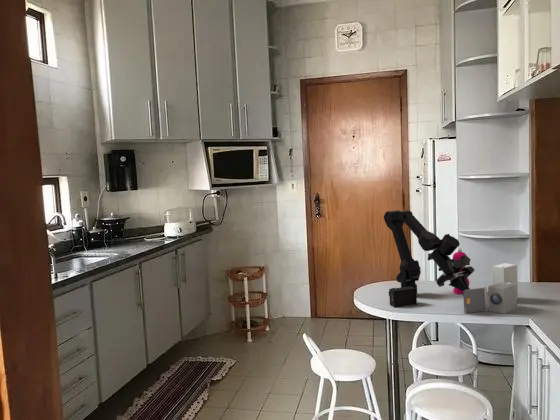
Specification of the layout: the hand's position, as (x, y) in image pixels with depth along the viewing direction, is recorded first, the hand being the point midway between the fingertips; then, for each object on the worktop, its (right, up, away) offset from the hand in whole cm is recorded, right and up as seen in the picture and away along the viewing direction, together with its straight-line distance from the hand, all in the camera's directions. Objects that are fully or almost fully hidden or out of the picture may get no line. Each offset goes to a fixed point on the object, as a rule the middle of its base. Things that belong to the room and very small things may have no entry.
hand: (469, 293), depth 178 cm
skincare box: (+20, -5, +11) cm, 23 cm away
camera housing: (+12, -6, -1) cm, 14 cm away
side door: (+2, -6, -2) cm, 7 cm away
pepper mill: (+7, -5, +27) cm, 28 cm away
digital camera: (-22, -7, +14) cm, 27 cm away
